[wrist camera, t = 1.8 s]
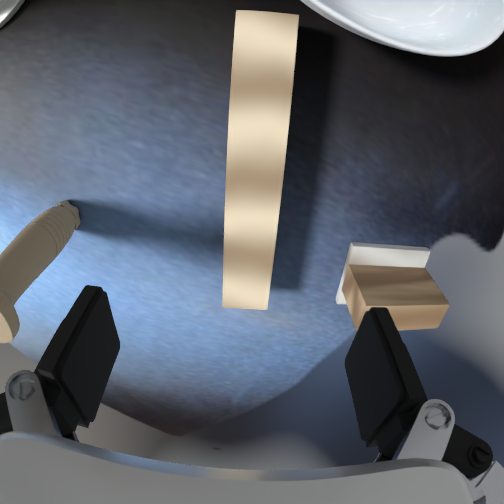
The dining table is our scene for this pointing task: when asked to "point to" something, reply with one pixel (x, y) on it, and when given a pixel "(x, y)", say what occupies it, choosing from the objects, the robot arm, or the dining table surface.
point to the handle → (32, 259)
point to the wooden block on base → (391, 285)
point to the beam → (256, 152)
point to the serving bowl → (419, 23)
